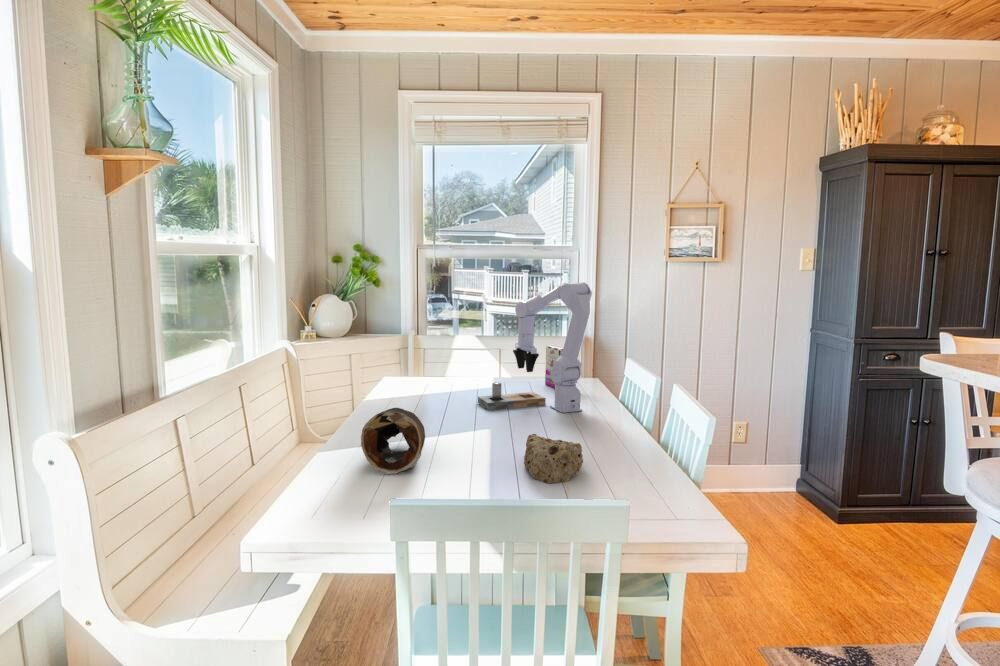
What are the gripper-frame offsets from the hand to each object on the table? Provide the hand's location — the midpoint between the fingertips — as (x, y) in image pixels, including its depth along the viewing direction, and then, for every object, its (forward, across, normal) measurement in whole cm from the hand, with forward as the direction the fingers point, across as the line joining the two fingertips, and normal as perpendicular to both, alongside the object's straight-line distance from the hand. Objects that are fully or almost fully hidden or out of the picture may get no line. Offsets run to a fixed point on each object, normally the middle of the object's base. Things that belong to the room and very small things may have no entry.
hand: (525, 370), depth 223 cm
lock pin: (+10, +8, -15) cm, 20 cm away
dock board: (+10, +8, -9) cm, 16 cm away
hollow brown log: (+11, +50, -60) cm, 79 cm away
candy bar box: (+11, -12, +20) cm, 26 cm away
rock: (+11, +72, -26) cm, 77 cm away
